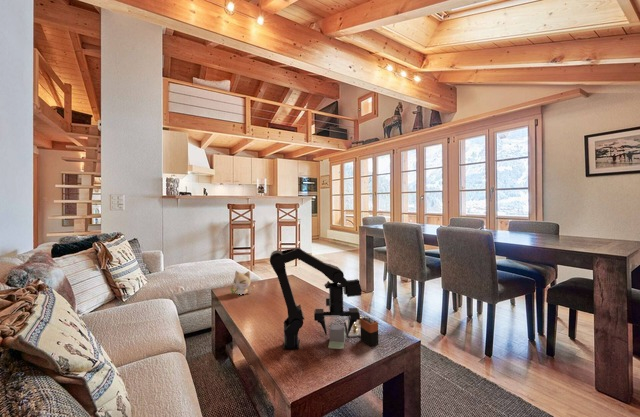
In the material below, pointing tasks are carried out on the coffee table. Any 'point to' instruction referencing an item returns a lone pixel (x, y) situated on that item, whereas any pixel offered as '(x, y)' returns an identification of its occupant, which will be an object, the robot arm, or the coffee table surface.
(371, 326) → the battery
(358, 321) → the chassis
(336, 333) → the grey block
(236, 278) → the kitten
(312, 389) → the coffee table surface
